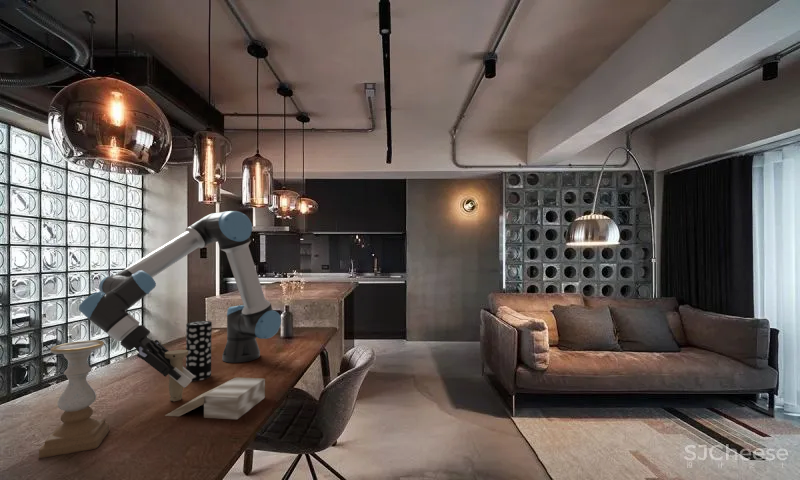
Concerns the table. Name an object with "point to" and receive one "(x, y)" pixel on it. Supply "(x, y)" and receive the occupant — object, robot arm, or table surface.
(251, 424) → the table surface
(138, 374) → the table surface
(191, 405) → the ramp bench
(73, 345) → the candle holder
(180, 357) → the handle
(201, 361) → the white-spotted black cylinder
